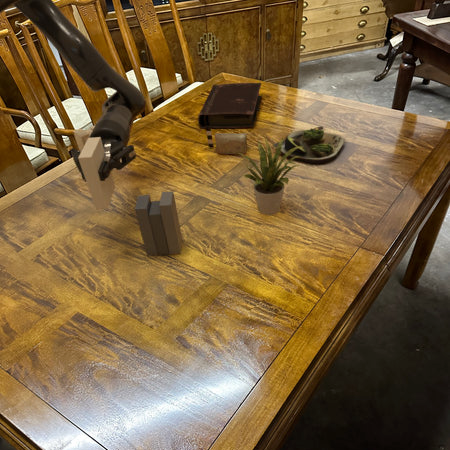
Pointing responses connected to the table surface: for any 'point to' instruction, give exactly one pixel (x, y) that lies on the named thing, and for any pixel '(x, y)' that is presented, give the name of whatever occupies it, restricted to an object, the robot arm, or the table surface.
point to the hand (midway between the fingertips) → (93, 176)
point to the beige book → (96, 173)
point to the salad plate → (312, 146)
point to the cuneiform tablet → (228, 142)
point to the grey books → (159, 224)
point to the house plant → (270, 178)
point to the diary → (231, 106)
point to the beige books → (82, 136)
